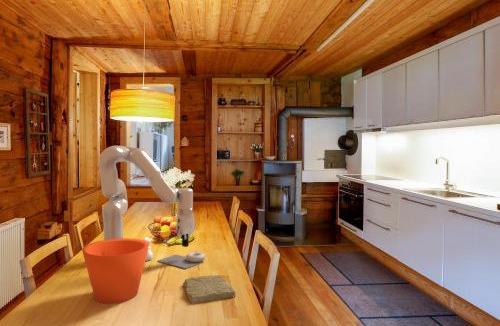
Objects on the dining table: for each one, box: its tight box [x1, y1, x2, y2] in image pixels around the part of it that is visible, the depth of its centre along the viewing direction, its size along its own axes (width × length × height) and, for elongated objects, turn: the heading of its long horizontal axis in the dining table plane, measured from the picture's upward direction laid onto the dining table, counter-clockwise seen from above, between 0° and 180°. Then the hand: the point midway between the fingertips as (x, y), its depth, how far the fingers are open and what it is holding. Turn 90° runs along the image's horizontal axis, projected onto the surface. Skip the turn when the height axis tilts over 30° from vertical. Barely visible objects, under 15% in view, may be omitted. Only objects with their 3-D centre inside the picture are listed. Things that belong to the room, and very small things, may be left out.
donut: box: [185, 251, 206, 262], centre depth 185 cm, size 10×4×10 cm
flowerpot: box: [81, 237, 150, 305], centre depth 141 cm, size 25×25×20 cm
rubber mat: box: [157, 254, 204, 270], centre depth 184 cm, size 13×20×1 cm, turn 57°
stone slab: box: [182, 274, 236, 305], centre depth 147 cm, size 19×20×4 cm
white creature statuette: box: [142, 236, 154, 262], centre depth 187 cm, size 10×9×12 cm
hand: (185, 246), depth 186 cm, fingers closed
